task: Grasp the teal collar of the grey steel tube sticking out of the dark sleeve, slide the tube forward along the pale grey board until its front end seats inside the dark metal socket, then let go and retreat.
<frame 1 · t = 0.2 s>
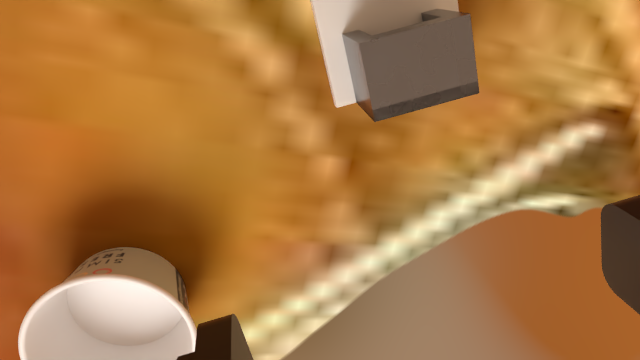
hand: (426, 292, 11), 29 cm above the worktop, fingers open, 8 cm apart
socket: (392, 54, 38), resting on board
food container: (129, 295, 42), on the worktop
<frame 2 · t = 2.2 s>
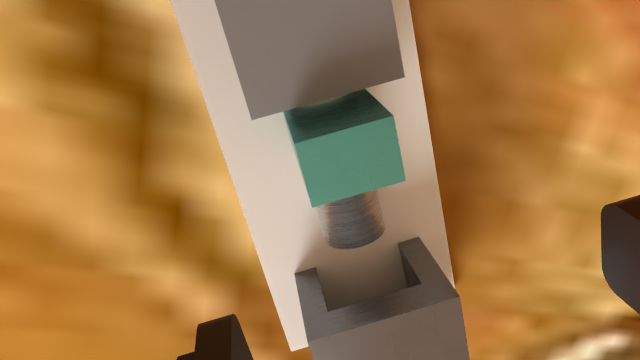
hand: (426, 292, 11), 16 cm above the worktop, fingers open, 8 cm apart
board: (328, 147, 26), on the worktop
socket: (362, 281, 30), resting on board
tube: (327, 104, 20), point 5 cm above the worktop, slide at 0.0 cm
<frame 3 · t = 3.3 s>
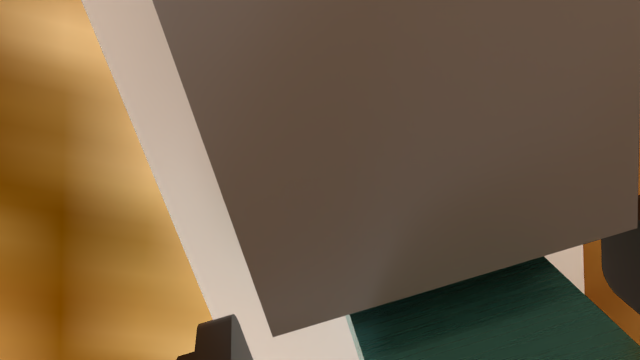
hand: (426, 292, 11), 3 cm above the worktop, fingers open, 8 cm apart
board: (398, 284, 15), on the worktop
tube: (440, 274, 9), point 5 cm above the worktop, slide at 0.0 cm
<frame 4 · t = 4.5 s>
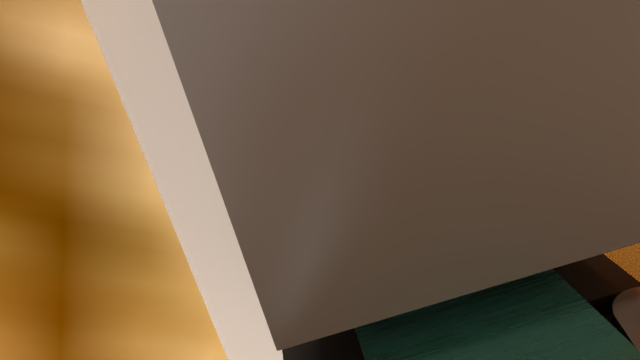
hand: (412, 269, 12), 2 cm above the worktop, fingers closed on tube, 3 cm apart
board: (402, 292, 15), on the worktop
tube: (446, 286, 9), point 5 cm above the worktop, slide at 0.0 cm, touching gripper
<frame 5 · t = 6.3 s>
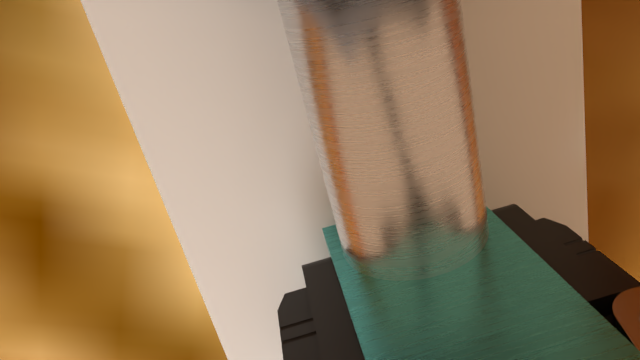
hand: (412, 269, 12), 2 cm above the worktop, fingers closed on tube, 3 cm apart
board: (359, 92, 12), on the worktop
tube: (446, 286, 9), point 5 cm above the worktop, slide at 6.0 cm, touching gripper
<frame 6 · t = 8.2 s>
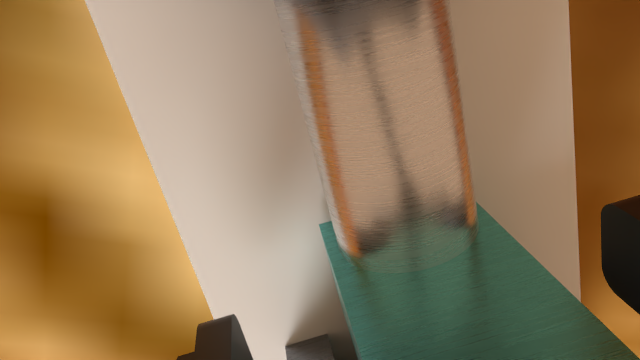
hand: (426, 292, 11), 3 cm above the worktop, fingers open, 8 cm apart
board: (354, 92, 13), on the worktop
socket: (411, 353, 16), resting on board
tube: (436, 278, 9), point 5 cm above the worktop, slide at 6.0 cm
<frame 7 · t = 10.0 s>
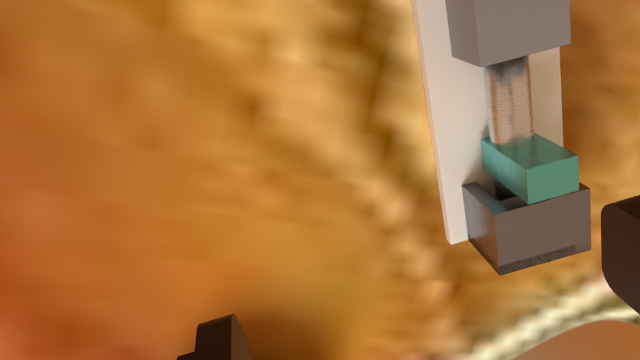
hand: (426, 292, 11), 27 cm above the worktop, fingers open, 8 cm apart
board: (491, 97, 39), on the worktop
socket: (500, 196, 42), resting on board
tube: (524, 146, 36), point 5 cm above the worktop, slide at 6.0 cm
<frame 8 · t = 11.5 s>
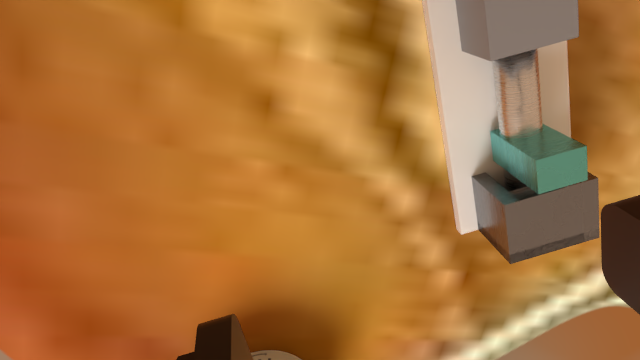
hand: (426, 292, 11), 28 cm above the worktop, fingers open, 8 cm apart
board: (499, 90, 40), on the worktop
socket: (509, 187, 43), resting on board
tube: (534, 137, 36), point 5 cm above the worktop, slide at 6.0 cm
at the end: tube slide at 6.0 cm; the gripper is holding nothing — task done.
